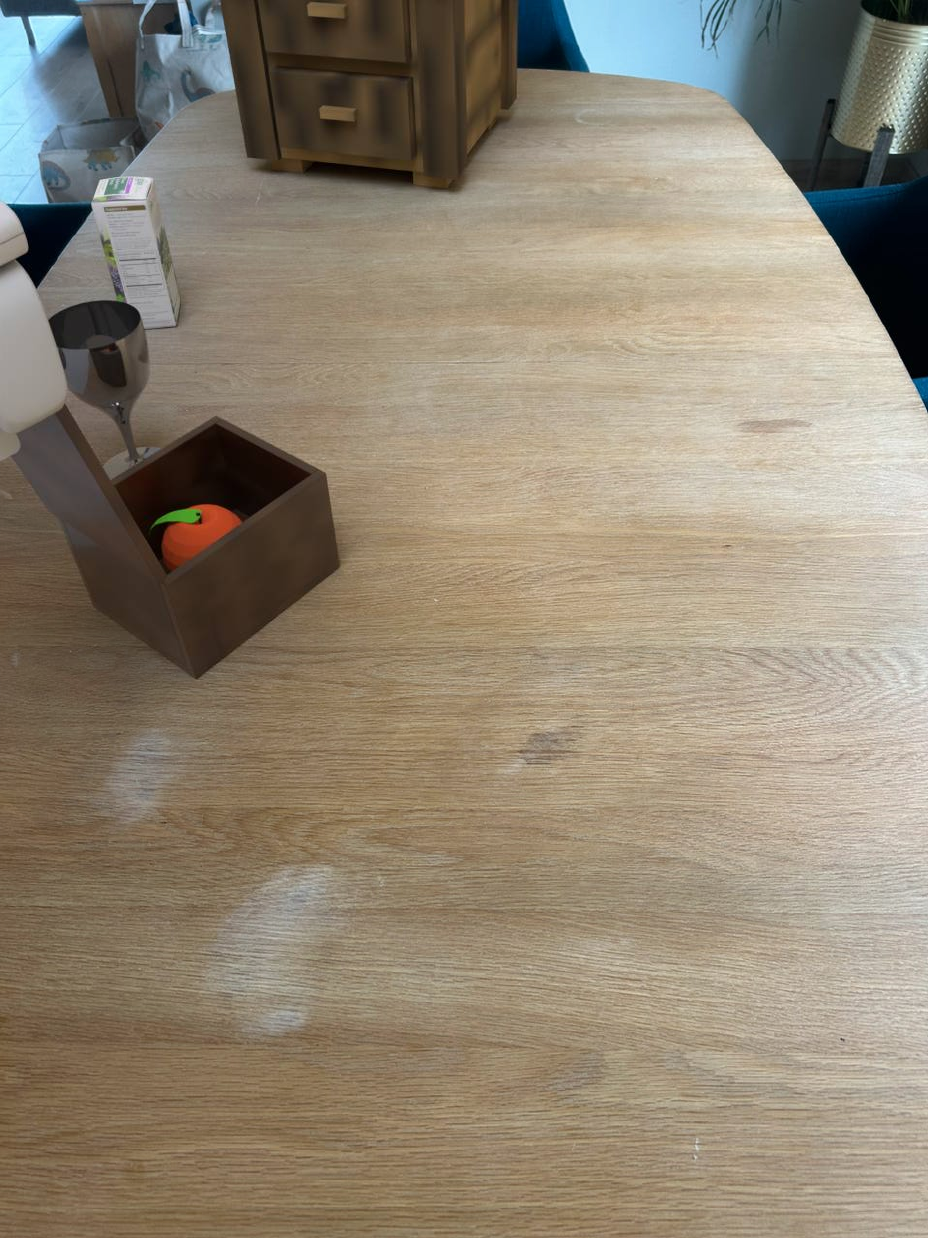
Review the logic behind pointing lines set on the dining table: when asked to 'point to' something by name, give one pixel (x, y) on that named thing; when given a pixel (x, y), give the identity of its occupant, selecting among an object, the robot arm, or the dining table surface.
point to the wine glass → (106, 366)
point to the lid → (81, 490)
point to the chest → (215, 544)
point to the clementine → (193, 531)
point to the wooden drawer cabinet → (371, 80)
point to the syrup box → (137, 248)
